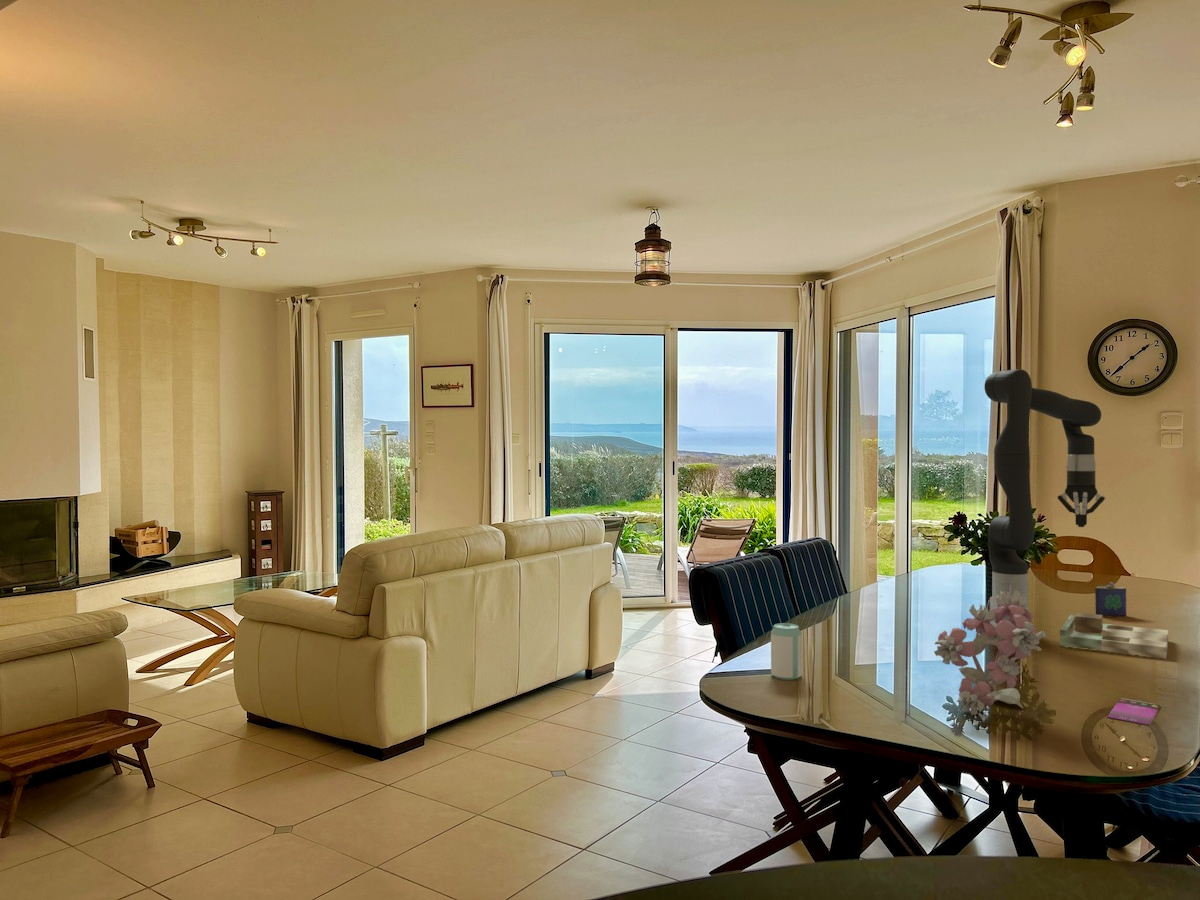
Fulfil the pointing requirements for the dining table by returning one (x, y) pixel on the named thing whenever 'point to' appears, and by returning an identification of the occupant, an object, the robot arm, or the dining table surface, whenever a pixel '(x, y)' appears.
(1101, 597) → the flask
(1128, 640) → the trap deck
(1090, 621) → the walnut block
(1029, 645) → the flower
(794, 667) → the can
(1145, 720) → the smartphone
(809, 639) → the dining table surface
